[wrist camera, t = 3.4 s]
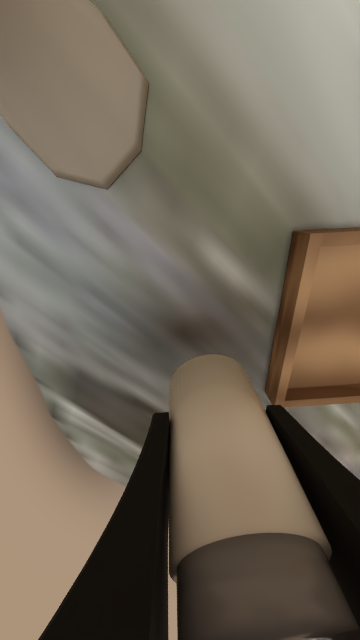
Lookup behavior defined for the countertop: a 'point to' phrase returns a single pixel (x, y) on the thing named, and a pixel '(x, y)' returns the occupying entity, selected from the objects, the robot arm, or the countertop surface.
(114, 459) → the countertop surface
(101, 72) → the flask
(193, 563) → the pepper shaker
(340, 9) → the countertop surface
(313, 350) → the tray
